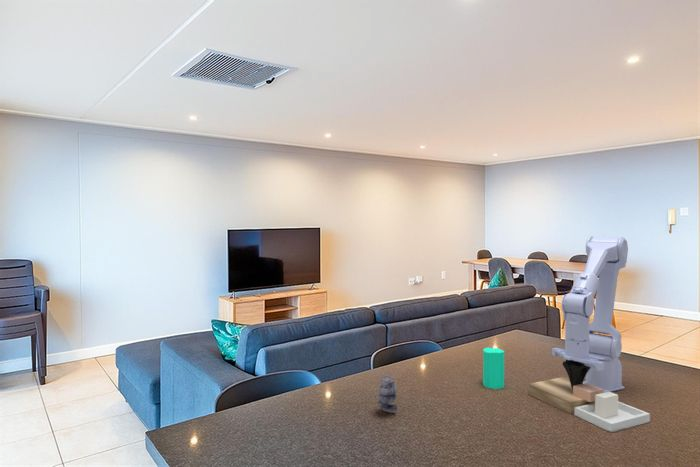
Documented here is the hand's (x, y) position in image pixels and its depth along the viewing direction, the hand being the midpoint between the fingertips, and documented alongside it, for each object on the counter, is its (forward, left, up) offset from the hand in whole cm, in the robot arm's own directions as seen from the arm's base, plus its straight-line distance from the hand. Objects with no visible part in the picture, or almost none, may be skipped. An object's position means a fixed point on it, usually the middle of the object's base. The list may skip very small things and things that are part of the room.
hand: (576, 389), depth 120 cm
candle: (+11, -19, -4) cm, 23 cm away
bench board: (0, -3, -4) cm, 5 cm away
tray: (0, +10, -4) cm, 11 cm away
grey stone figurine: (+49, -15, -4) cm, 51 cm away
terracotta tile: (0, +4, -1) cm, 4 cm away
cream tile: (0, +7, -1) cm, 8 cm away
